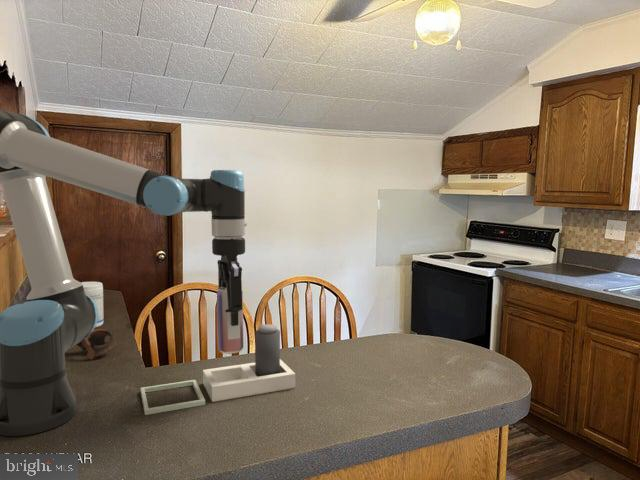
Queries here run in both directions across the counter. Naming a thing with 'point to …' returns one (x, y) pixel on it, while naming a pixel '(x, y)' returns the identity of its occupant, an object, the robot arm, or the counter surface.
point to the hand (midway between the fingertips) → (230, 334)
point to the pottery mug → (97, 343)
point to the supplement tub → (95, 297)
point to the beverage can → (223, 342)
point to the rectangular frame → (172, 406)
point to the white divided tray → (245, 381)
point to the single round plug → (267, 350)
